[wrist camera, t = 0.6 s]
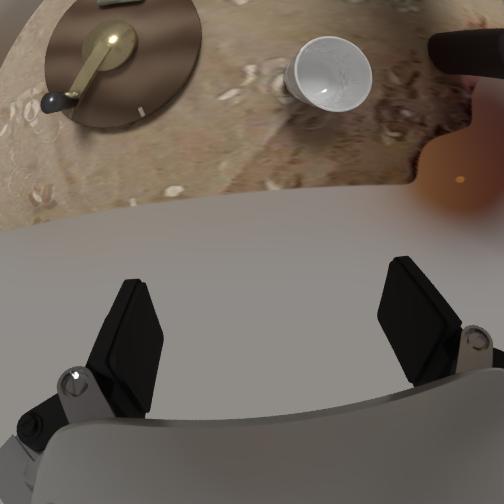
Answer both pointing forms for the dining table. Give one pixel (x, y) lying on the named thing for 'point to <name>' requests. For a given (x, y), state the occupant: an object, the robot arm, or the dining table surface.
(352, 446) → the robot arm
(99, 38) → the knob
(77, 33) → the base plate
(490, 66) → the bottle
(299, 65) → the white cup
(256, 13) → the dining table surface
